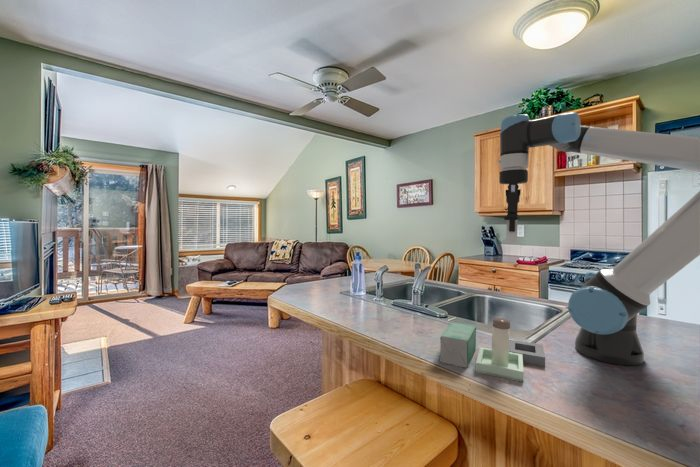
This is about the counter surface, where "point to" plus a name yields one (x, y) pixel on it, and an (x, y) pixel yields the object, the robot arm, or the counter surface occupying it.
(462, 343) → the box
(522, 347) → the holder
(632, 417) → the counter surface
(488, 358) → the tray
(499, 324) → the block
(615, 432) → the counter surface
